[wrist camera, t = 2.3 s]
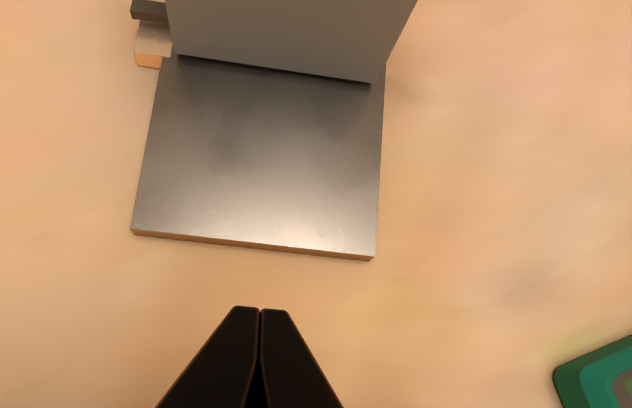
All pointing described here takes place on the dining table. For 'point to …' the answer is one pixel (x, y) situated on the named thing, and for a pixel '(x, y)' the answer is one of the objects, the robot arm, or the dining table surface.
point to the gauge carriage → (286, 32)
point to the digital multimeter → (598, 378)
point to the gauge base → (258, 155)
